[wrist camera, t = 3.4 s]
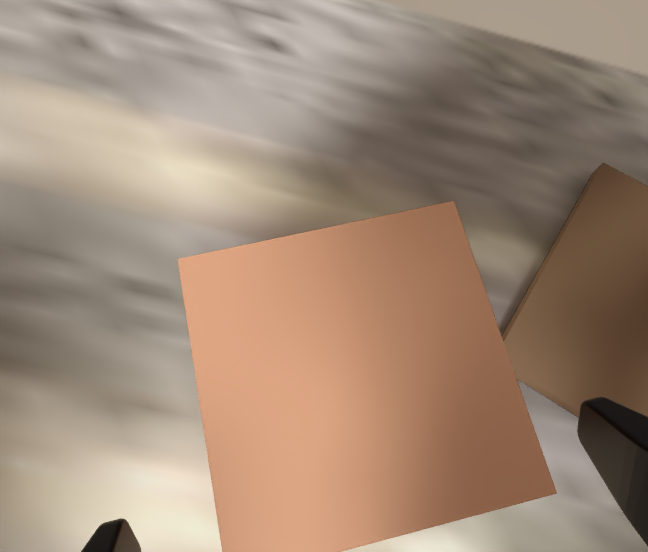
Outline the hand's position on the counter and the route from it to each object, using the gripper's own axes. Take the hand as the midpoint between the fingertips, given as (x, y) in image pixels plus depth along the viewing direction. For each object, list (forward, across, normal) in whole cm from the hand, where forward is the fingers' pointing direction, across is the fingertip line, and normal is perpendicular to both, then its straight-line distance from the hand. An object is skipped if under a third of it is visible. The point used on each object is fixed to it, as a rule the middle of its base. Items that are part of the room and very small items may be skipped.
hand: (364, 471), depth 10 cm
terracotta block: (+8, 0, +5) cm, 9 cm away
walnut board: (+8, -13, +5) cm, 16 cm away
